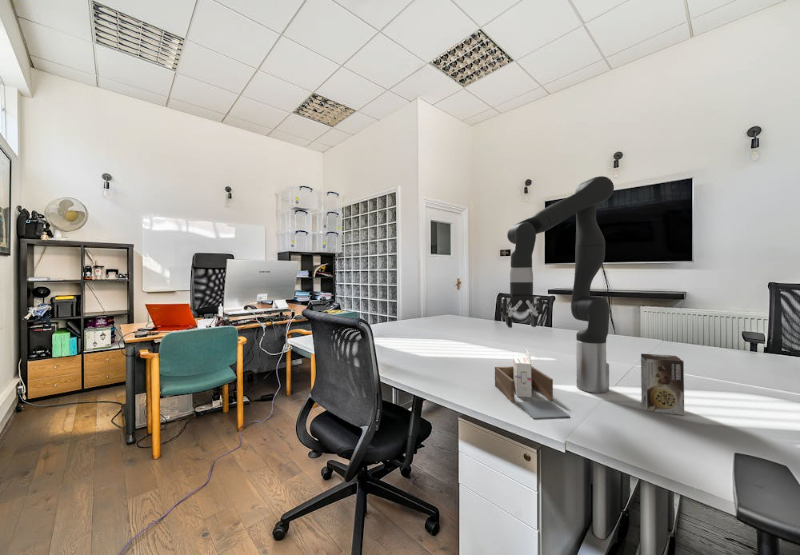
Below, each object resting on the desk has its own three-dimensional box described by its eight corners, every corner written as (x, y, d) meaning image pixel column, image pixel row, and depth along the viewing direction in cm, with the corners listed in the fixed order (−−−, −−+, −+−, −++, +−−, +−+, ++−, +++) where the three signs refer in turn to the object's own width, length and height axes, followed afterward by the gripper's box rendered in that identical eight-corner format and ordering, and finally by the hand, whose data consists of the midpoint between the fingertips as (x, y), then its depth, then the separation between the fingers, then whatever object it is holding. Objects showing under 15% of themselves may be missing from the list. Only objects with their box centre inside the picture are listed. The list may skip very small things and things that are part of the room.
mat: (550, 401, 104) (550, 400, 104) (570, 417, 93) (570, 416, 93) (517, 403, 103) (517, 402, 103) (533, 419, 92) (533, 417, 92)
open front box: (531, 384, 120) (531, 365, 120) (552, 400, 105) (552, 379, 105) (494, 385, 119) (494, 367, 119) (511, 402, 104) (511, 381, 104)
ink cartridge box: (512, 387, 117) (512, 347, 116) (527, 388, 116) (526, 348, 115) (516, 397, 108) (516, 354, 108) (532, 397, 107) (531, 354, 107)
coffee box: (676, 407, 98) (676, 355, 98) (685, 416, 92) (685, 361, 92) (640, 402, 102) (640, 352, 102) (646, 411, 96) (646, 357, 96)
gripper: (535, 280, 115) (536, 324, 116) (497, 280, 114) (497, 325, 115) (546, 280, 108) (546, 328, 108) (505, 281, 107) (506, 329, 107)
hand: (521, 327), depth 111 cm, fingers open, 8 cm apart
